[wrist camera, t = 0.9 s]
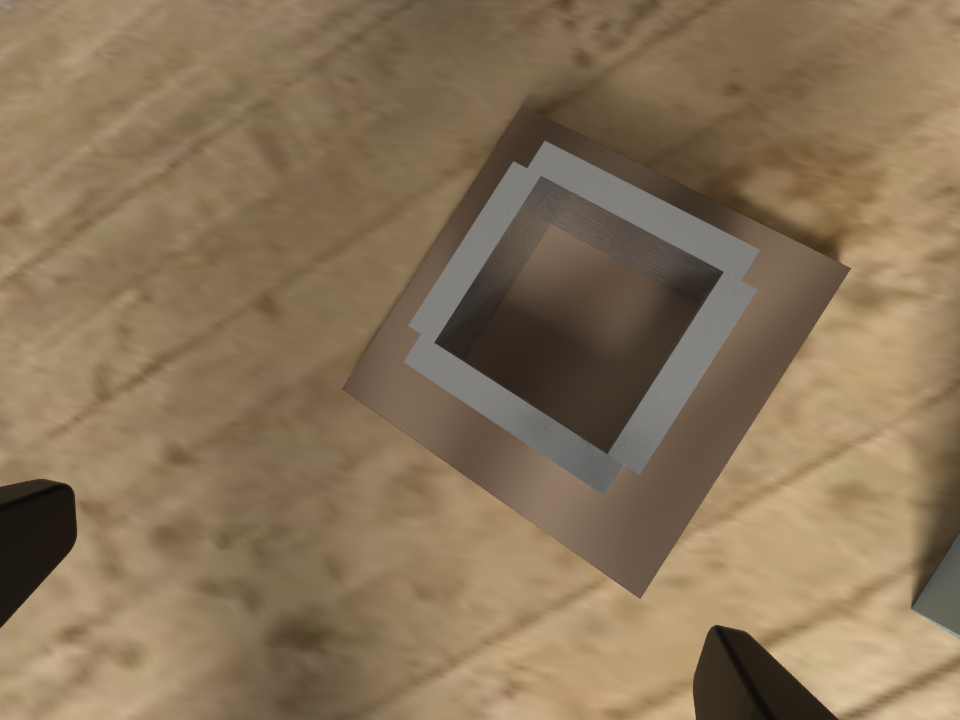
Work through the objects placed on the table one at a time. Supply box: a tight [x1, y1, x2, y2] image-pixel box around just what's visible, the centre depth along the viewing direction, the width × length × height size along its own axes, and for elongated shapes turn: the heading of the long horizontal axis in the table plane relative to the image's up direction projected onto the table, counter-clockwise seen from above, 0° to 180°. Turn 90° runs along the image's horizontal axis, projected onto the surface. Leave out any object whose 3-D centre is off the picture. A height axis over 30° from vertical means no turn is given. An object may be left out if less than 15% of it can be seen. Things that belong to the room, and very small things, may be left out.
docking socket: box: [342, 106, 851, 599], centre depth 19 cm, size 13×13×5 cm
